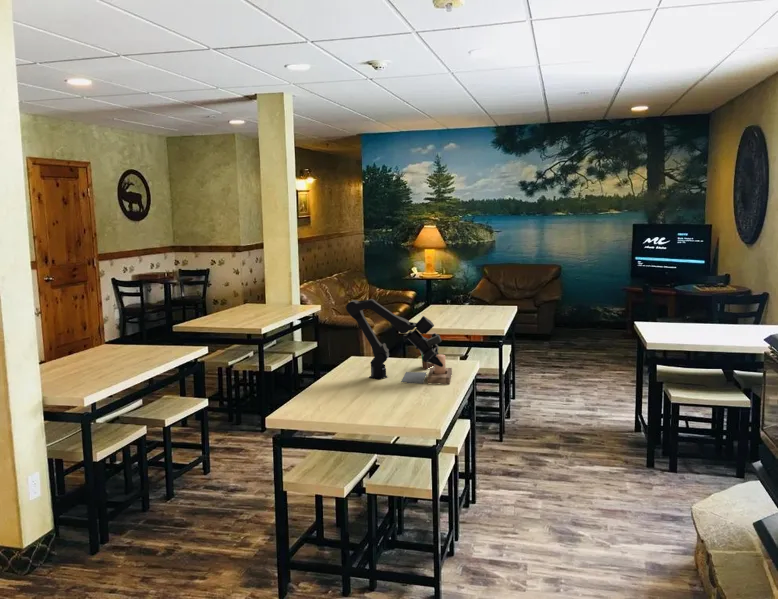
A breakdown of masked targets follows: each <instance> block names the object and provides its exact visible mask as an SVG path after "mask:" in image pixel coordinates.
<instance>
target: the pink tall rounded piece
mask: <svg viewBox="0 0 778 599" xmlns="http://www.w3.org/2000/svg"><path fill="white" fill-rule="evenodd" d="M437 357H438V359H439V360H440V361H441V363H442V364H443V366H442V367H440V366H438V365H435V364H434V367H433V368H434V374H446V368H447V367H446V361H447V360H446V355H445V354H443V353H441V354H437Z"/></svg>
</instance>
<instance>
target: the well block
mask: <svg viewBox="0 0 778 599" xmlns="http://www.w3.org/2000/svg"><path fill="white" fill-rule="evenodd" d="M452 370H453V368H452V367H446V374H434V367H433V368H430V369H429V372H428V374H427V384H428V383H443V384H442V385H450V384H451V380H452V376H451V375H453V371H452Z"/></svg>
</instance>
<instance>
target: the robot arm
mask: <svg viewBox="0 0 778 599" xmlns="http://www.w3.org/2000/svg"><path fill="white" fill-rule="evenodd" d="M345 309H346V312H347V313H348V314H349V315H350V317H352V318H353V319H354V320H355V321H356V322H357V324H358V326H359V328H360V330H361V331H362V333H363V335H364V336H365V338H366V340H367V342H368V343H369V345H370V346H371V350H372V354H373V356H374V357H373V358H372V360H371V361H370V363H369V364H370V376H368V378H370V379H374V378H375V380H382V379H385V378H388V377H387V376H388V375H387V368H386V364H384V363H385V362H387V360H388V359H389V356H390V352H389V351H390V349H389V348H388V347H387V344H386V343H385V342H383V343H382V342H380V341H379V339H378V337H377V336H376V334H375V332H374V331H373V328H372V327H371V325H370V323H369V322H368V320H367V318H366V316H365V315H364V310H371V311H373V312H375V313H376V314H377V315H379V316H380V317H381V318H384V320H386V321H387V322H389V323H390V324H391V325H392V326H393V328H395V330H397V332H398V333H400V334H403V342H406V341H407V340H408V341H410V343H411V344H413V346H414V347H415V349H416V350H419V352H420V351H421V352H422V355H423V357H422V356H421V361H422V360H423V361H424V362H430V363H432V364H435V365H438V366H440V367H442V366H443V364H442V363H441V361H440V360H439V359H438V357H437V354H439V350H438V347H439V345H438V344H440V343H441V342H442V341H443V340H442V338H441V335H440V334H438V333H435V332H434V333H433V334H431V337H430V338H427V337H424V336H423V335H427V334H428V333H429V332H430V331H431V330H432V329H433V328H434V327H435V324H434V322H432V320H430V319H429V318H427V317H426V316H424V315H422V317H421V318H420V319H419V320H418V321H417V322H411V321H409V320H408V319H407V318H405V317H401V316H399V315H396V314H395V313H393V312H392V311H390V310H388V309H387V308H386V307H385V306H383V305H382V304H380V303H379V302H377V301H376V300H375V299H373V298H370V299H365V300H359V301H358V300H357V299H353V300H351V301H350V302H347V304H346V307H345ZM437 346H438V347H437ZM435 347H437V348H436V349H435ZM384 377H385V378H384ZM381 378H382V379H381Z"/></svg>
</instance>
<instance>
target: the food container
mask: <svg viewBox="0 0 778 599" xmlns="http://www.w3.org/2000/svg"><path fill="white" fill-rule="evenodd" d="M437 347H438V351H439V345H438V346H437ZM437 347H435V349H436V348H437ZM419 353H420V354H421V358H422V357H423V355H422V352H421V351H420V350H419ZM432 366H434V364H432V363H430V362H424V361H423V360H422V359H421V367H422V369H423V368H425V369H424V370H426V369H428V368H430V367H432ZM428 370H429V369H428Z"/></svg>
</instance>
